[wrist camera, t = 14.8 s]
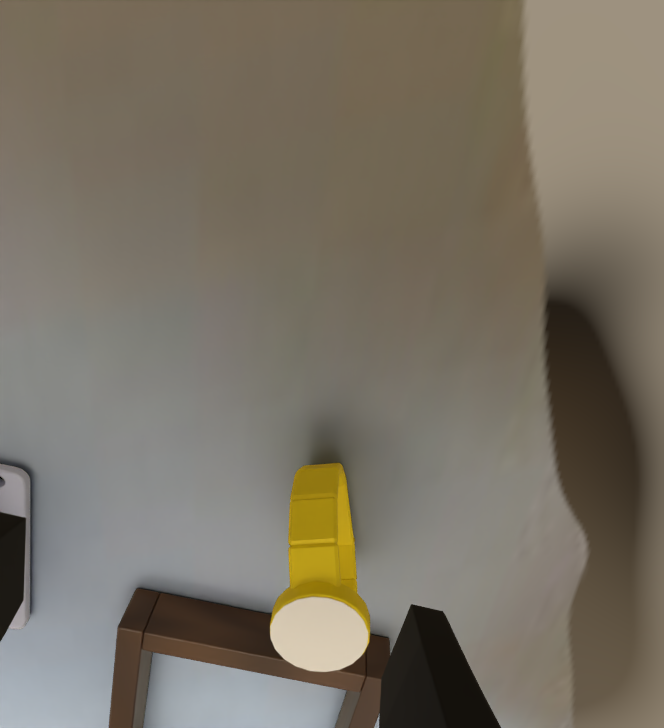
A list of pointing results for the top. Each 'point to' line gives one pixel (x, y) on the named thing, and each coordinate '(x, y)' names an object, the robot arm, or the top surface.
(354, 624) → the watch
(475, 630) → the top surface
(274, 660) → the holder
